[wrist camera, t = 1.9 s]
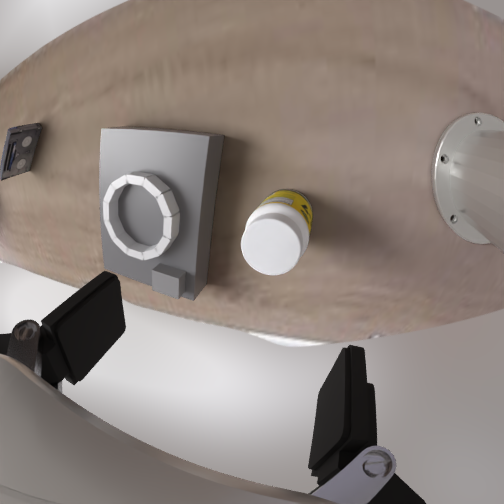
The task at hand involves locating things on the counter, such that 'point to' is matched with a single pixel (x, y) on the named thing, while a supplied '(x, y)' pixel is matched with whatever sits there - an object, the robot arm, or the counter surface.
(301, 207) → the supplement bottle
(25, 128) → the mini dv tape
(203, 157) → the grey ring holder base
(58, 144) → the counter surface
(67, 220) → the counter surface
